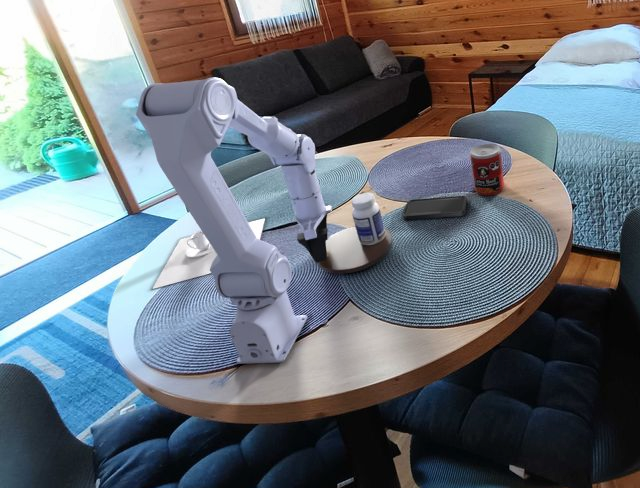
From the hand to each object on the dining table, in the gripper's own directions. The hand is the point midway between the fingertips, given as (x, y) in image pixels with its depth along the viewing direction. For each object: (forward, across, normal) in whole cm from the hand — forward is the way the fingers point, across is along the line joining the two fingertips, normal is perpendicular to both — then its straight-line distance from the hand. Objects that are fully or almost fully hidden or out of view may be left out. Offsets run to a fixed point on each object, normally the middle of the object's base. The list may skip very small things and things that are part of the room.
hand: (321, 250), depth 90 cm
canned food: (+3, +14, -41) cm, 44 cm away
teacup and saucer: (+3, +17, +26) cm, 31 cm away
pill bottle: (+1, +1, -10) cm, 10 cm away
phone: (+3, +10, -26) cm, 28 cm away
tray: (+2, 0, -7) cm, 7 cm away
